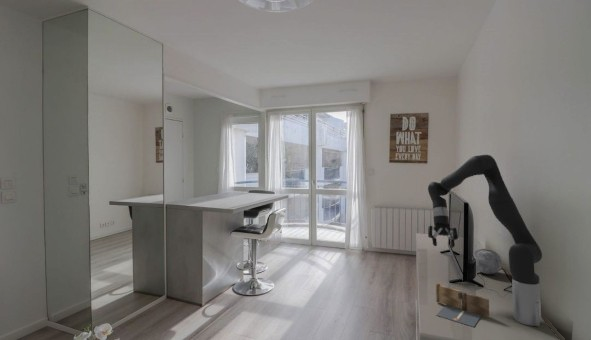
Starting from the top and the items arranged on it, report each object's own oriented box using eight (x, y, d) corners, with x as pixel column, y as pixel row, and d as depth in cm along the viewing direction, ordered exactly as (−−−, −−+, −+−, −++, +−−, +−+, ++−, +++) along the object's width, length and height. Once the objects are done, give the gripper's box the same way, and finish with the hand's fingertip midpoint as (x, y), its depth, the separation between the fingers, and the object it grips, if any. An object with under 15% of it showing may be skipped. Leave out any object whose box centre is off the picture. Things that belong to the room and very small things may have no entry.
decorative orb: (502, 272, 183) (501, 247, 182) (501, 279, 171) (500, 253, 171) (474, 267, 191) (473, 244, 191) (471, 274, 180) (470, 250, 180)
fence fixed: (489, 316, 132) (489, 298, 132) (488, 318, 130) (488, 300, 130) (462, 308, 139) (462, 291, 139) (461, 310, 138) (461, 293, 138)
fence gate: (462, 307, 139) (462, 289, 139) (461, 308, 138) (460, 290, 138) (437, 300, 147) (436, 283, 147) (435, 301, 146) (435, 284, 146)
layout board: (484, 311, 136) (484, 311, 136) (474, 327, 124) (473, 326, 124) (448, 302, 146) (448, 301, 146) (436, 315, 134) (436, 314, 134)
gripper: (429, 213, 160) (432, 244, 153) (457, 216, 159) (461, 246, 152) (425, 217, 167) (427, 246, 160) (451, 219, 166) (455, 249, 159)
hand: (443, 246), depth 156 cm, fingers open, 8 cm apart
